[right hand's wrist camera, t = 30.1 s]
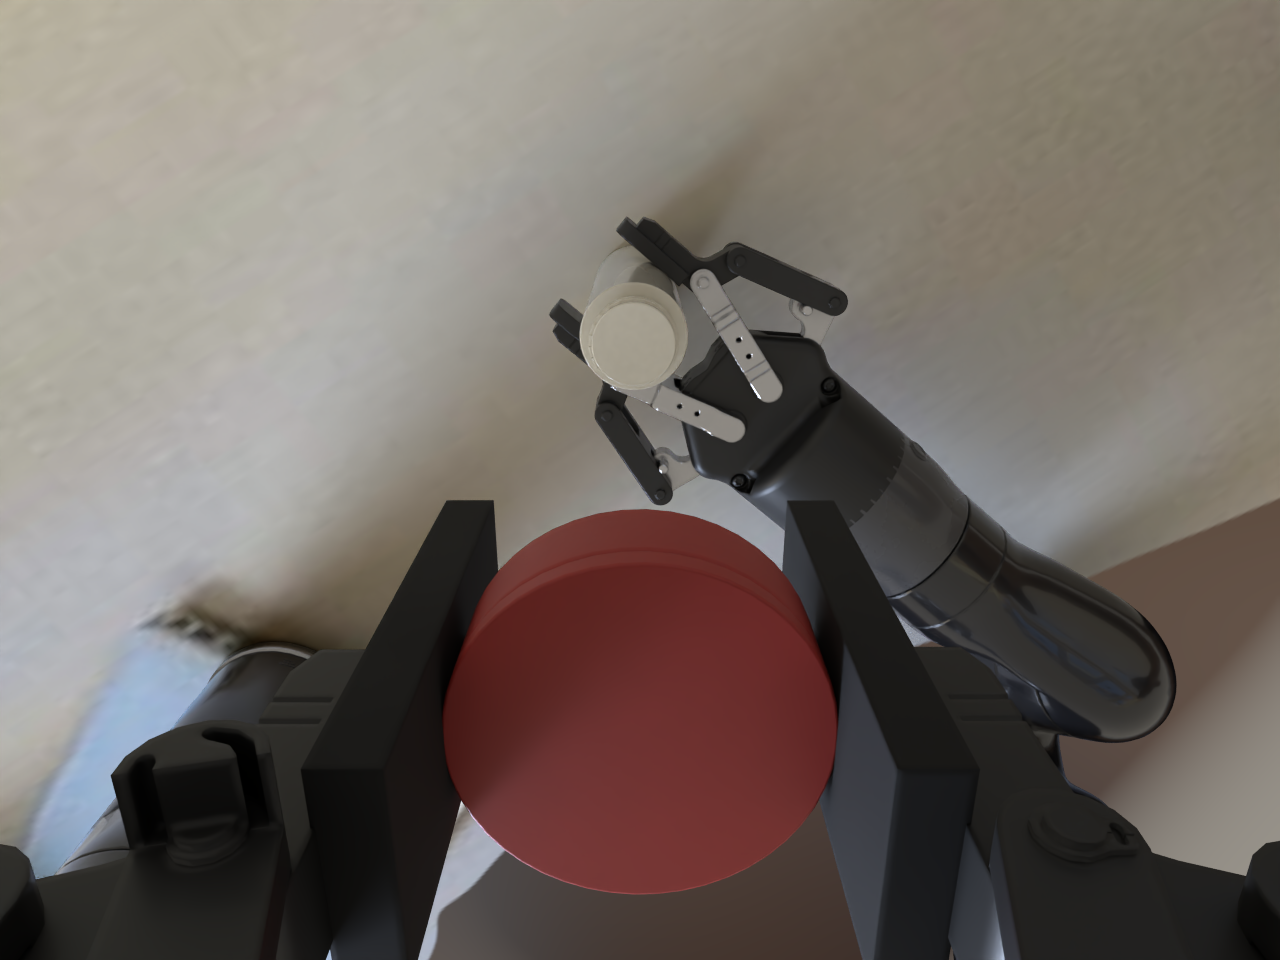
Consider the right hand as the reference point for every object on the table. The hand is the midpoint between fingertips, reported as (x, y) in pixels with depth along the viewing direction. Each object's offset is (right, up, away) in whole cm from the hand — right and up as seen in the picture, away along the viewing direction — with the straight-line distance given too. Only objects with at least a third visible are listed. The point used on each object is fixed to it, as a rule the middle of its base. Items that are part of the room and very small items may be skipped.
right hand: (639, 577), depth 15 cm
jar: (0, +12, +33) cm, 35 cm away
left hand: (-2, +11, +26) cm, 29 cm away
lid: (0, -1, -4) cm, 4 cm away
